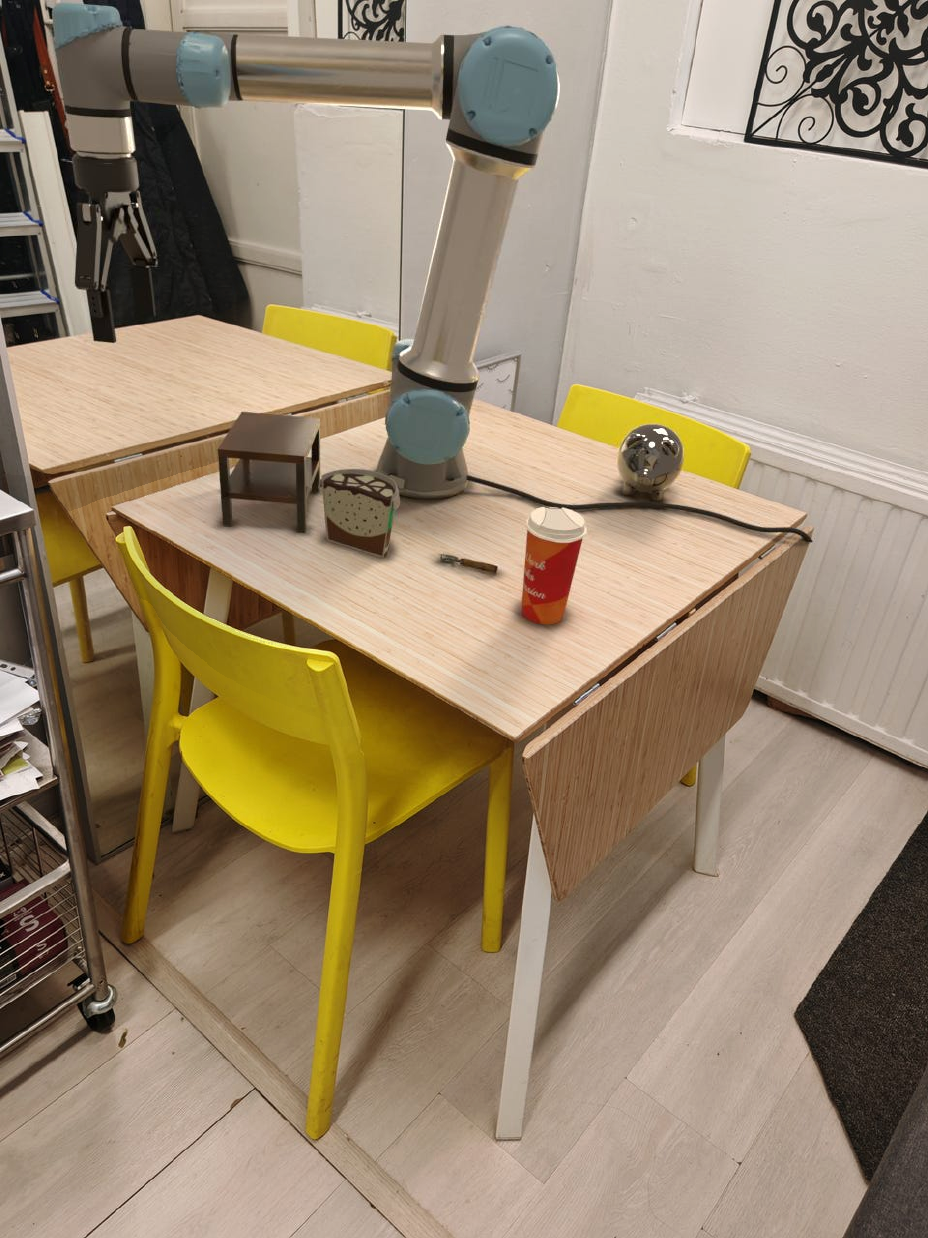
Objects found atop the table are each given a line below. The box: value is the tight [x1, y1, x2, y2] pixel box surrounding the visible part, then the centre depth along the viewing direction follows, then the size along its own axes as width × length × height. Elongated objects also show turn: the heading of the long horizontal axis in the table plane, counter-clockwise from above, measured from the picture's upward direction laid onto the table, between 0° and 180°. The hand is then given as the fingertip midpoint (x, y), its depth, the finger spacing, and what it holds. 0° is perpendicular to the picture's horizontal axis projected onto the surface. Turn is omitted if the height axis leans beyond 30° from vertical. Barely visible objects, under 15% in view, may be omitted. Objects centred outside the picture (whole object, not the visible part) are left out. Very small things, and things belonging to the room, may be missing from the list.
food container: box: [318, 468, 401, 559], centre depth 128 cm, size 12×6×10 cm, turn 65°
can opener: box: [437, 553, 499, 574], centre depth 127 cm, size 9×2×1 cm, turn 65°
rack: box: [217, 411, 321, 534], centre depth 134 cm, size 12×15×12 cm
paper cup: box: [521, 506, 588, 626], centre depth 115 cm, size 8×8×14 cm
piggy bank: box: [616, 423, 686, 502], centre depth 151 cm, size 11×15×12 cm
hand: (126, 327), depth 123 cm, fingers open, 13 cm apart
